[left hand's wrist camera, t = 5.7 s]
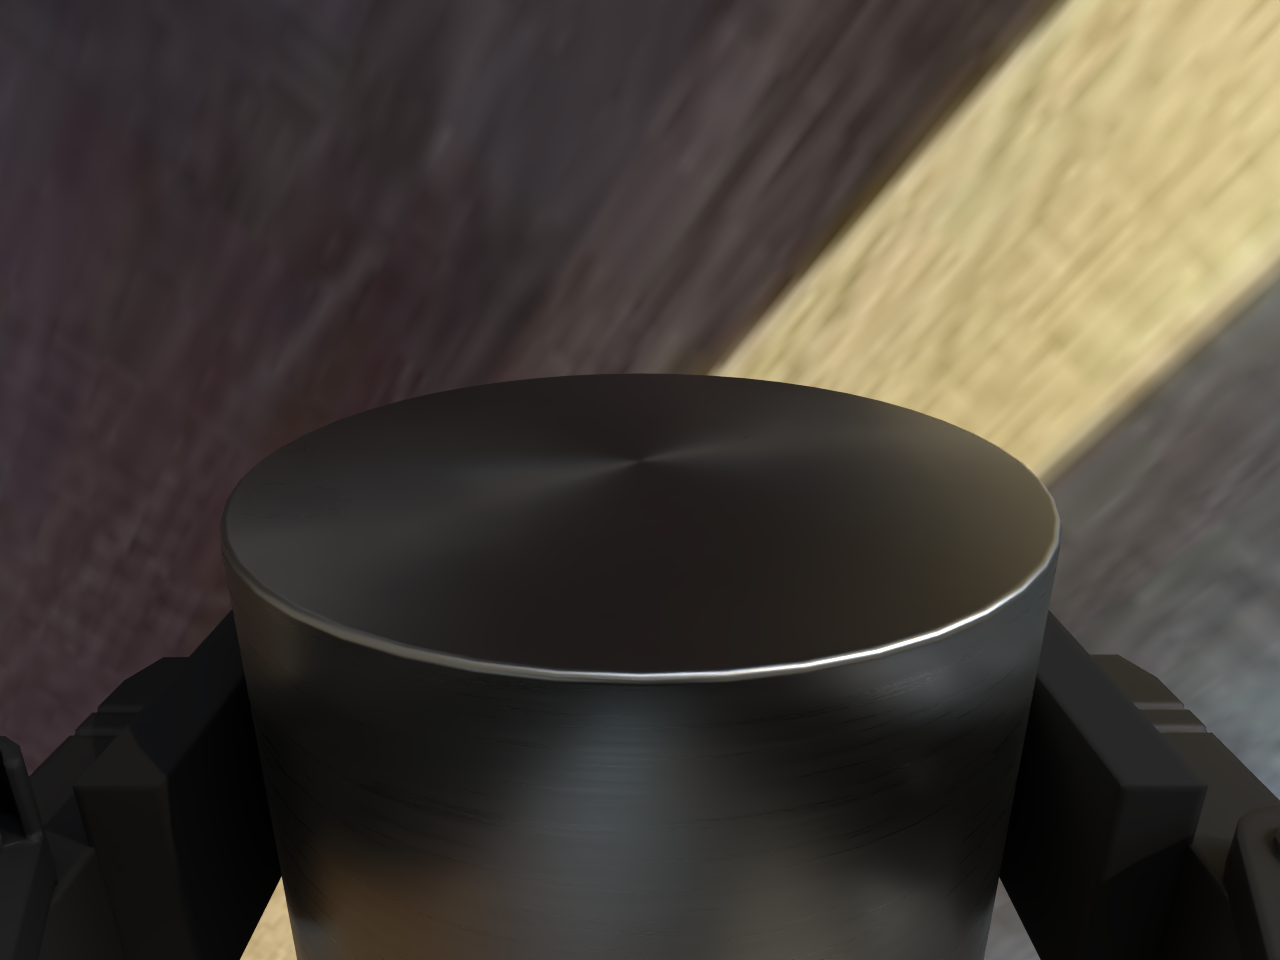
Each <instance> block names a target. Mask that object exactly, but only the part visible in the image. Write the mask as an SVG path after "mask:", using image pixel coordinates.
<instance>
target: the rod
mask: <svg viewBox="0 0 1280 960" xmlns="http://www.w3.org/2000/svg"><path fill="white" fill-rule="evenodd" d="M219 529H220V539H221V549H222V555H223V560H224V566H225V571H226V576H227V582H228V587H229V593H230V598H231V603H232V609H233V614H234V620H235V625H236V631H237V636H238V641H239V647H240V652H241V658H242V663H243V668H244V674H245V679H246V685H247V690H248V696H249V701H250V706H251V712H252V717H253V723H254V728H255V733H256V739H257V744H258V750H259V755H260V761H261V766H262V771H263V777H264V782H265V788H266V793H267V798H268V804H269V809H270V815H271V820H272V826H273V831H274V836H275V842H276V847H277V853H278V858H279V863H280V869H281V874H282V880H283V885H284V891H285V896H286V901H287V907H288V912H289V918H290V923H291V928H292V934H293V939H294V945H295V950H296V956H297V960H984V955H985V950H986V944H987V939H988V934H989V928H990V923H991V917H992V912H993V907H994V901H995V896H996V890H997V885H998V880H999V874H1000V869H1001V863H1002V858H1003V853H1004V847H1005V842H1006V836H1007V831H1008V826H1009V820H1010V815H1011V809H1012V804H1013V799H1014V793H1015V788H1016V782H1017V777H1018V772H1019V766H1020V761H1021V755H1022V750H1023V745H1024V739H1025V734H1026V728H1027V723H1028V718H1029V712H1030V707H1031V701H1032V696H1033V690H1034V685H1035V680H1036V674H1037V669H1038V663H1039V658H1040V653H1041V647H1042V642H1043V636H1044V631H1045V626H1046V620H1047V615H1048V609H1049V604H1050V599H1051V593H1052V588H1053V582H1054V577H1055V572H1056V566H1057V561H1058V555H1059V550H1060V541H1061V529H1062V525H1061V521H1060V518H1059V515H1058V511H1057V508H1056V505H1055V501H1054V499H1053V497H1052V496H1051V494H1050V493H1049V491H1048V490H1047V488H1046V487H1045V485H1044V484H1043V482H1042V481H1041V480H1040V479H1039V478H1038V477H1037V476H1036V475H1035V474H1034V473H1033V472H1032V471H1031V470H1030V469H1028V468H1027V467H1026V466H1025V465H1024V464H1023V463H1022V462H1020V461H1019V460H1018V459H1016V458H1015V457H1013V456H1012V455H1010V454H1009V453H1007V452H1006V451H1004V450H1003V449H1001V448H1000V447H998V446H996V445H994V444H992V443H991V442H989V441H987V440H985V439H983V438H981V437H979V436H977V435H975V434H974V433H971V432H969V431H966V430H964V429H962V428H959V427H957V426H955V425H952V424H950V423H948V422H945V421H943V420H940V419H937V418H934V417H931V416H928V415H925V414H922V413H919V412H917V411H914V410H910V409H907V408H903V407H900V406H896V405H893V404H889V403H886V402H882V401H878V400H874V399H869V398H865V397H861V396H856V395H852V394H848V393H842V392H837V391H832V390H826V389H821V388H815V387H809V386H802V385H795V384H788V383H782V382H773V381H764V380H755V379H746V378H734V377H721V376H706V375H684V374H597V375H575V376H560V377H547V378H535V379H526V380H517V381H507V382H499V383H492V384H485V385H479V386H472V387H465V388H460V389H455V390H449V391H444V392H438V393H433V394H429V395H424V396H420V397H416V398H411V399H407V400H403V401H399V402H395V403H392V404H388V405H385V406H381V407H377V408H374V409H370V410H367V411H364V412H361V413H358V414H356V415H353V416H350V417H347V418H344V419H341V420H338V421H336V422H333V423H331V424H329V425H326V426H324V427H321V428H319V429H317V430H314V431H312V432H310V433H307V434H305V435H303V436H302V437H300V438H298V439H296V440H294V441H292V442H290V443H288V444H286V445H285V446H283V447H281V448H279V449H278V450H276V451H275V452H274V453H272V454H271V455H269V456H268V457H266V458H265V459H263V460H262V461H260V462H259V463H258V464H257V465H256V466H255V467H254V468H252V469H251V470H250V471H249V472H248V473H247V474H246V475H245V476H244V477H243V478H242V479H241V480H240V481H239V482H238V484H237V485H236V487H235V488H234V490H233V491H232V493H231V494H230V496H229V497H228V499H227V501H226V505H225V508H224V511H223V515H222V518H221V522H220V525H219Z"/></svg>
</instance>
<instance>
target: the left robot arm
mask: <svg viewBox="0 0 1280 960" xmlns="http://www.w3.org/2000/svg"><path fill="white" fill-rule="evenodd" d="M75 731H76V733H75V735H74V736H69V737H68V738H67V739H66V740H65V741H64V742H63V743H62V744H61V745H60V746H59V747H58V748H57V749H56V750H55V751H54V752H53V753H52V754H51V755H50V756H49V757H48V758H47V759H46V760H45V761H44V762H43V763H42V764H41V765H40V766H39V767H38V768H37V769H36V770H35V771H34V772H33V773H32V774H31V775H30V776H28V773H27V769H26V766H25V763H24V759H23V756H22V753H21V749H20V746H19V745H18V744H16V743H15V742H13V741H12V740H10V739H9V738H7V737H6V736H0V960H240V958H241V956H242V954H243V952H244V950H245V948H246V946H247V944H248V942H249V940H250V938H251V936H252V934H253V932H254V930H255V928H256V926H257V924H258V922H259V920H260V918H261V916H262V914H263V912H264V910H265V908H266V906H267V904H268V902H269V900H270V898H271V896H272V894H273V892H274V890H275V888H276V886H277V884H278V882H279V880H280V878H281V876H282V874H281V869H280V863H279V858H278V853H277V847H276V842H275V836H274V831H273V826H272V820H271V815H270V809H269V804H268V798H267V793H266V788H265V782H264V777H263V771H262V766H261V761H260V755H259V750H258V744H257V739H256V733H255V728H254V723H253V717H252V712H251V706H250V701H249V696H248V690H247V685H246V679H245V674H244V668H243V663H242V658H241V652H240V647H239V641H238V636H237V631H236V625H235V620H234V614H233V609H232V610H231V611H230V612H229V614H228V615H227V616H226V617H225V618H224V619H223V620H222V621H221V622H220V623H219V625H218V626H217V627H216V628H215V629H214V630H213V631H212V632H211V633H210V635H209V636H208V637H207V638H206V639H205V640H204V641H203V642H202V643H201V644H200V646H199V647H198V648H197V649H196V650H195V651H194V652H193V653H192V654H191V655H190V657H163V658H162V659H160V660H158V661H157V662H155V663H153V664H152V665H150V666H148V667H146V668H145V669H143V670H141V671H140V672H138V673H136V674H135V675H133V676H131V677H129V678H128V679H126V680H124V681H123V682H122V683H121V684H120V685H119V686H118V687H117V688H116V689H115V690H114V691H113V692H112V694H111V695H110V696H109V697H108V698H107V699H106V700H105V701H104V702H103V703H102V704H101V705H100V706H99V707H98V711H97V713H92V714H91V715H90V716H89V717H88V718H87V719H86V720H85V721H84V722H83V723H82V724H81V725H80V726H79V727H78V728H77V729H76V730H75ZM999 877H1000V879H1001V881H1002V883H1003V885H1004V887H1005V889H1006V891H1007V893H1008V895H1009V897H1010V899H1011V901H1012V903H1013V905H1014V907H1015V909H1016V911H1017V913H1018V915H1019V917H1020V919H1021V921H1022V923H1023V925H1024V927H1025V929H1026V931H1027V933H1028V935H1029V937H1030V939H1031V941H1032V943H1033V945H1034V947H1035V949H1036V951H1037V953H1038V955H1039V957H1040V959H1041V960H1280V800H1279V799H1278V798H1277V797H1276V796H1275V795H1274V794H1273V793H1272V792H1271V791H1270V790H1269V789H1268V788H1267V787H1266V786H1265V785H1264V784H1263V783H1262V782H1261V781H1260V780H1259V779H1258V778H1257V777H1256V776H1255V775H1254V774H1253V773H1252V772H1251V771H1250V770H1249V769H1248V768H1247V767H1246V766H1245V765H1244V764H1243V763H1242V762H1241V761H1240V760H1239V759H1238V758H1237V757H1236V756H1235V755H1234V754H1233V753H1232V752H1231V751H1230V750H1229V749H1228V748H1227V747H1226V746H1225V745H1224V744H1223V743H1222V742H1221V741H1220V740H1219V739H1218V738H1217V737H1216V736H1215V735H1214V734H1213V733H1207V731H1206V726H1205V725H1204V724H1203V723H1202V722H1201V721H1200V720H1199V719H1198V718H1197V717H1196V716H1195V715H1194V714H1193V713H1192V712H1191V711H1190V710H1184V704H1183V703H1182V702H1181V701H1180V700H1179V699H1178V698H1177V697H1176V696H1175V695H1174V694H1173V693H1172V692H1171V691H1170V690H1169V689H1168V688H1167V687H1166V686H1165V685H1164V684H1163V683H1162V682H1161V681H1160V680H1159V679H1158V678H1157V677H1155V676H1153V675H1152V674H1150V673H1148V672H1147V671H1145V670H1143V669H1141V668H1140V667H1138V666H1136V665H1135V664H1133V663H1131V662H1129V661H1128V660H1126V659H1124V658H1123V657H1121V656H1119V655H1089V654H1088V653H1087V651H1086V650H1085V649H1084V648H1083V647H1082V646H1081V645H1080V644H1079V643H1078V642H1077V640H1076V639H1075V638H1074V637H1073V636H1072V635H1071V634H1070V633H1069V632H1068V631H1067V629H1066V628H1065V627H1064V626H1063V625H1062V624H1061V623H1060V622H1059V621H1058V619H1057V618H1056V617H1055V616H1054V615H1053V614H1052V613H1051V612H1050V611H1049V610H1048V615H1047V620H1046V626H1045V631H1044V636H1043V642H1042V647H1041V653H1040V658H1039V663H1038V669H1037V674H1036V680H1035V685H1034V690H1033V696H1032V701H1031V707H1030V712H1029V718H1028V723H1027V728H1026V734H1025V739H1024V745H1023V750H1022V755H1021V761H1020V766H1019V772H1018V777H1017V782H1016V788H1015V793H1014V799H1013V804H1012V809H1011V815H1010V820H1009V826H1008V831H1007V836H1006V842H1005V847H1004V853H1003V858H1002V863H1001V869H1000V874H999Z"/></svg>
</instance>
